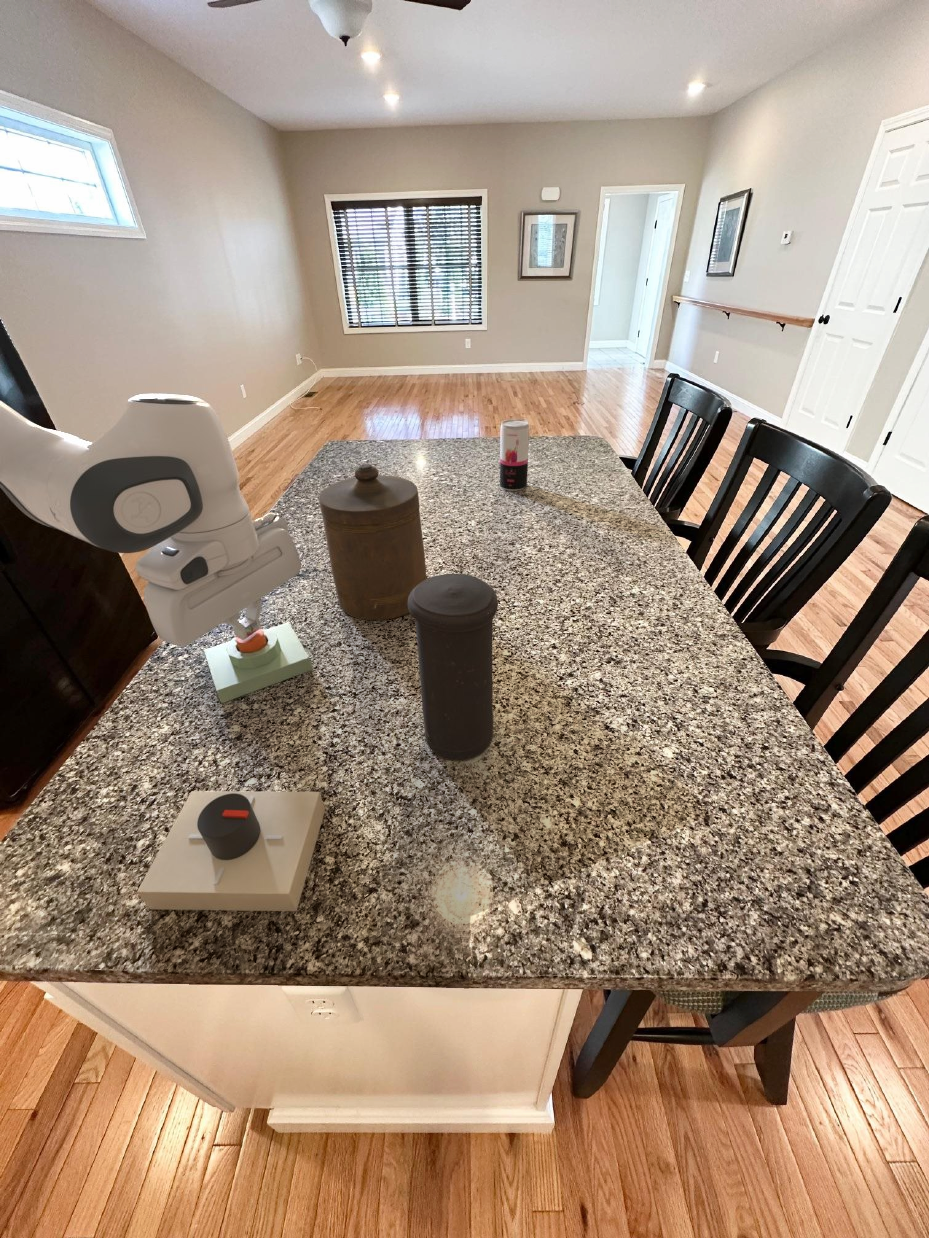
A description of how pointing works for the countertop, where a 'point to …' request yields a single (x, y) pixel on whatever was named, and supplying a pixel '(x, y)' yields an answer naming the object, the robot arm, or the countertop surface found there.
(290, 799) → the panel
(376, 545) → the wooden container
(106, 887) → the countertop surface
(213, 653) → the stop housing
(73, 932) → the countertop surface
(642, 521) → the countertop surface
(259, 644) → the stop button
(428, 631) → the container
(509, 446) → the beverage can
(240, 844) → the timer knob
